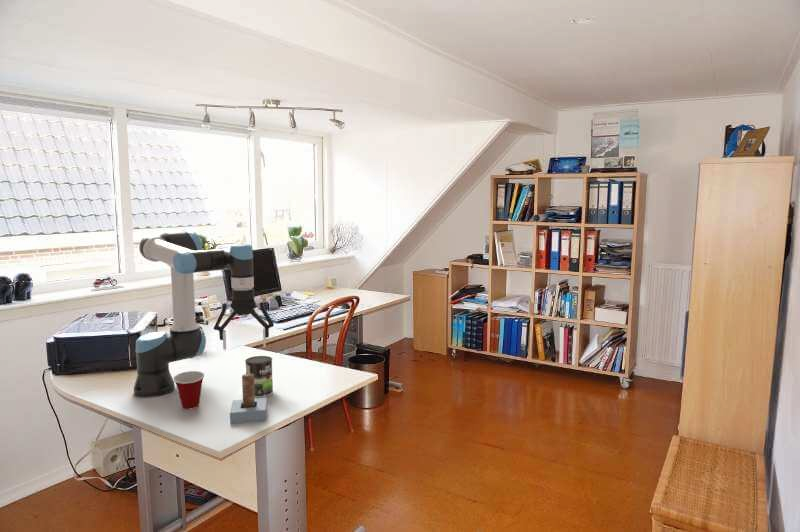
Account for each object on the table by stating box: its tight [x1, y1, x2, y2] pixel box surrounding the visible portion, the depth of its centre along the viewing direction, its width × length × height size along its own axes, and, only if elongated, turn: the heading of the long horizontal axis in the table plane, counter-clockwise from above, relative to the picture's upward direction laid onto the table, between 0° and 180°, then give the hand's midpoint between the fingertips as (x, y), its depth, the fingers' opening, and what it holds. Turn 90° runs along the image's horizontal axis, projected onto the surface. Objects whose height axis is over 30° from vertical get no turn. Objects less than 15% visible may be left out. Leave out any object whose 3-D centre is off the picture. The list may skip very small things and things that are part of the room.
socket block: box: [229, 397, 268, 425], centre depth 191 cm, size 12×12×4 cm
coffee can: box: [244, 355, 274, 398], centre depth 212 cm, size 10×10×14 cm
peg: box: [241, 373, 255, 408], centre depth 190 cm, size 4×4×15 cm
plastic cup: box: [172, 370, 205, 410], centre depth 199 cm, size 11×11×12 cm
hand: (244, 347), depth 189 cm, fingers open, 13 cm apart
